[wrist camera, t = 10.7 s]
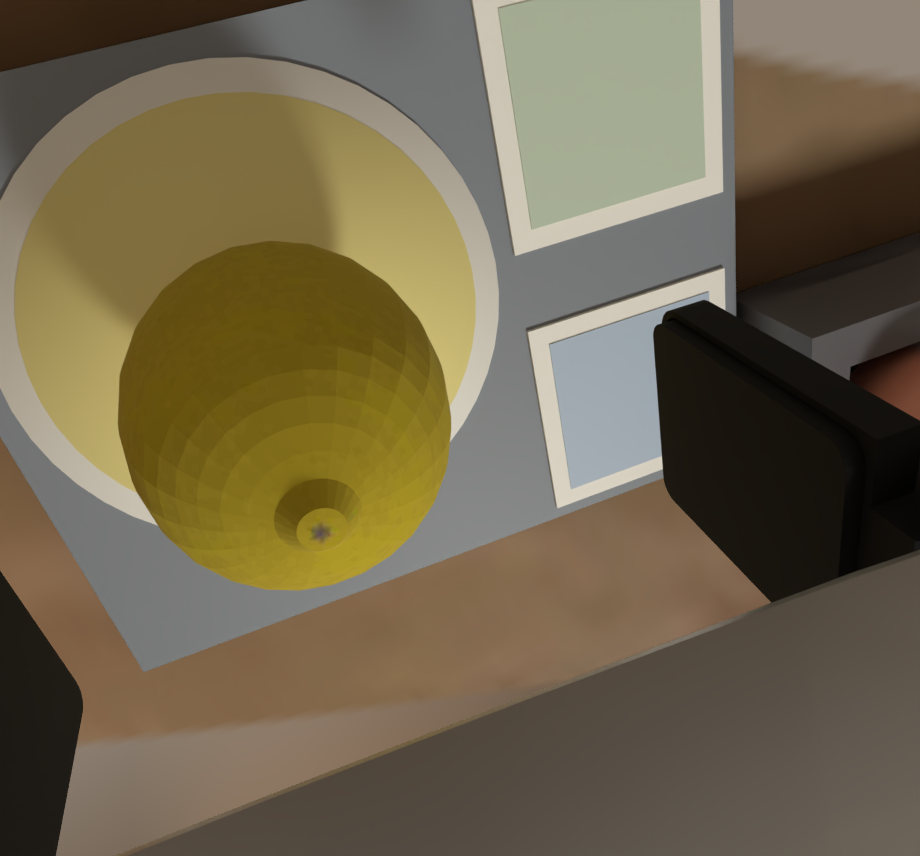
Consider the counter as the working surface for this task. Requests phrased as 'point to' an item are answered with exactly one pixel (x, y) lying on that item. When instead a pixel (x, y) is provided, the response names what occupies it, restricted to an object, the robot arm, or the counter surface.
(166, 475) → the lemon
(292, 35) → the picture board
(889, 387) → the button
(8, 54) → the counter surface
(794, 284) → the button box
